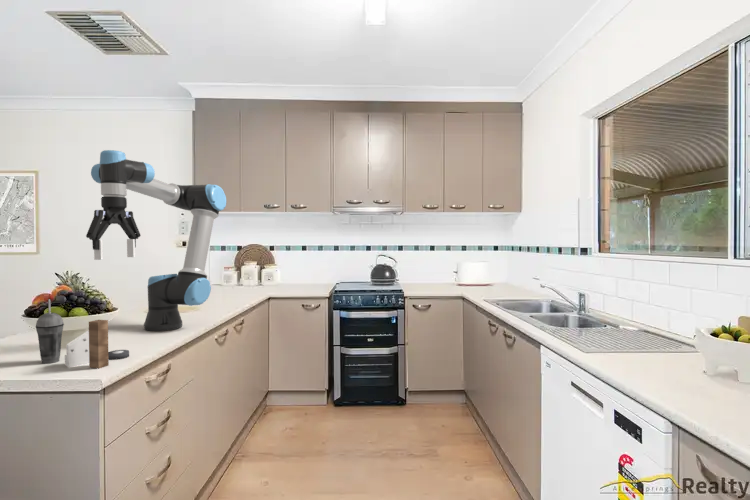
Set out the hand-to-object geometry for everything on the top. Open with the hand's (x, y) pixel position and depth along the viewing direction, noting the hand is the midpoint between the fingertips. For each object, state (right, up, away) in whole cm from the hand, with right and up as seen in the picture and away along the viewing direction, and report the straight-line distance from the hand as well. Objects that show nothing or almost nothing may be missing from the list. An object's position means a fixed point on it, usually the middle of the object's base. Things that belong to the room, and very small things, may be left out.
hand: (115, 258), depth 151 cm
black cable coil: (+5, -32, -7) cm, 33 cm away
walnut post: (+5, -33, -17) cm, 37 cm away
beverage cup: (-13, -33, -13) cm, 37 cm away
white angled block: (-3, -33, -15) cm, 36 cm away
